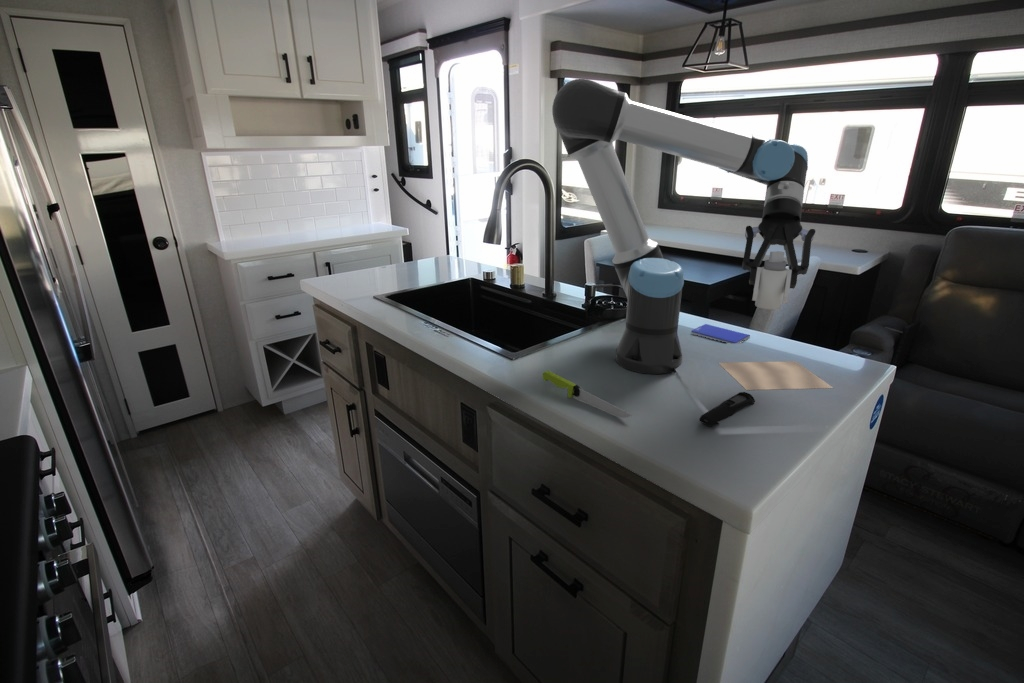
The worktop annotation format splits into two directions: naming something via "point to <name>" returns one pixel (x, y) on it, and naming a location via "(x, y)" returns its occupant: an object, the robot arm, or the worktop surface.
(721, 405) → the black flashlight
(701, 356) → the worktop surface
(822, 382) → the board
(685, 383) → the worktop surface
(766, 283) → the white bottle
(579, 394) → the kitchen knife
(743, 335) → the hard drive
